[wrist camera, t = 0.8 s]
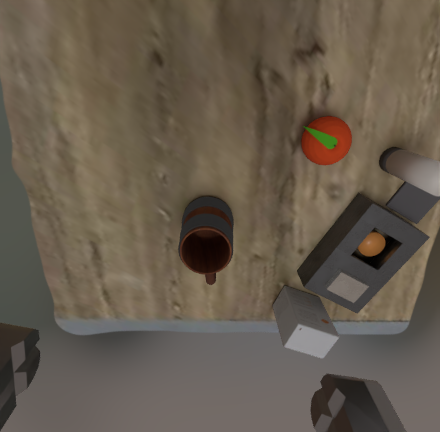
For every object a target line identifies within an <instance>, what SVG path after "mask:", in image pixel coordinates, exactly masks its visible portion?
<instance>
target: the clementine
mask: <svg viewBox="0 0 440 432" xmlns="http://www.w3.org/2000/svg"><path fill="white" fill-rule="evenodd" d="M303 127H304V128H305V131H304V133H303V136H302V140H301V142H302V149H303V152H304V154H305V155H306V157H307V158H308V159H309V160H310V161H312V162H314V163H316V164H319V165H330V164H333V163H336V162H338V161H339V160H341V159H342V158H343V157H344V156H345V155H346V154H347V153H348V151H349V149H350V146H351V142H352V135H351V131H350V129H349V127H348V125H347V124H346V123H345V122H344V121H342V120H341V119H339V118H337V117H332V116H327V117H321V118H318V119H316V120H314V121H313V122H311V123H310V124H309V125H308V127H305V126H303Z"/></svg>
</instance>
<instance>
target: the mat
mask: <svg viewBox="0 0 440 432" xmlns="http://www.w3.org/2000/svg"><path fill="white" fill-rule="evenodd" d="M439 199H440V196H434V195H432V194H430V193H428V192H426V191H424V190H422V189H420V188H418V187H416V186H414V185H412V184H410V183H408V182H406V181H405V182H404V184H403V185H402V186H401V187H400V188H399V190H398V191H397V192H396V193H395V194H394V195H393V197H392V198H391V199H390V200H389V201H388V203H387V204H386V206H388V207H389V208H391V209H393V210H394V211H396V212H398V213H399V214H401V215H403V216H404V217H406V218H408V219H409V220H411V221H413V222H414V223H416V224H417V223H418V222H419V221H420V220H421V219H422V218H423V217H424V216H425V214H426V213H427V212H428V211H429V210H430V209H431V208H432V207H433V206H434V205H435V203H436V202H437V201H438V200H439Z"/></svg>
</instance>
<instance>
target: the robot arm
mask: <svg viewBox="0 0 440 432" xmlns="http://www.w3.org/2000/svg"><path fill="white" fill-rule="evenodd" d="M39 339H40V338H39V330H37V329H33V328H27V327H21V326H16V325H10V324H5V323H0V431H1V429H2V428H3V426H4V424H5V423H6V421H7V420H8V418H9V417H10V415H11V413H12V412H13V410H14V409H15V407H16V396H17V395H18V394H20V393H21V392H23V391H24V390H26V389H27V388H28V387H29V385H30V383H31V382H32V380H33V378H34V376H35V374H36V371H37V369H38V366H39V362H40V350H39V349H38V348H37V347H36V346H35V345H36V344H37V342H38V341H39ZM320 382H321V385H322V388H321V389H319V390H317V391H316V392H315V393H314V395H313V397H312V400H311V418H312V422H313V426H314V429H315V430H316V431H317V432H406V430H405V428H404V426H403V424H402V423H401V421H400V419H399V417H398V415H397V413H396V412H395V410H394V408H393V406H392V404H391V402H390V401H389V399H388V397H387V395H386V393H385V391H384V390H383V388H382V386H381V385H380V384H379V383H378V382H377V381H373V380H366V379H359V378H354V377H347V376H341V375H334V374H326V375H324V376H323V378H322V380H321V381H320Z"/></svg>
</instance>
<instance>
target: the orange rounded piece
mask: <svg viewBox="0 0 440 432" xmlns="http://www.w3.org/2000/svg"><path fill="white" fill-rule="evenodd" d="M384 247H385V239H384V237H383V236H382V235H381V234H380V233H378V232H377V231H375V230H372V231H371V232H370V233H369V235H368V236H367V237H366V238H365V239H364V240H363V242H362V243H361V244H360V245H359V246H358V247H357V249H358V250H359V251H360V252H361V253H362V254H363V255H365V256H374V255H377V254H379V253H380V252H381V251H382V250H383V249H384Z"/></svg>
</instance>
